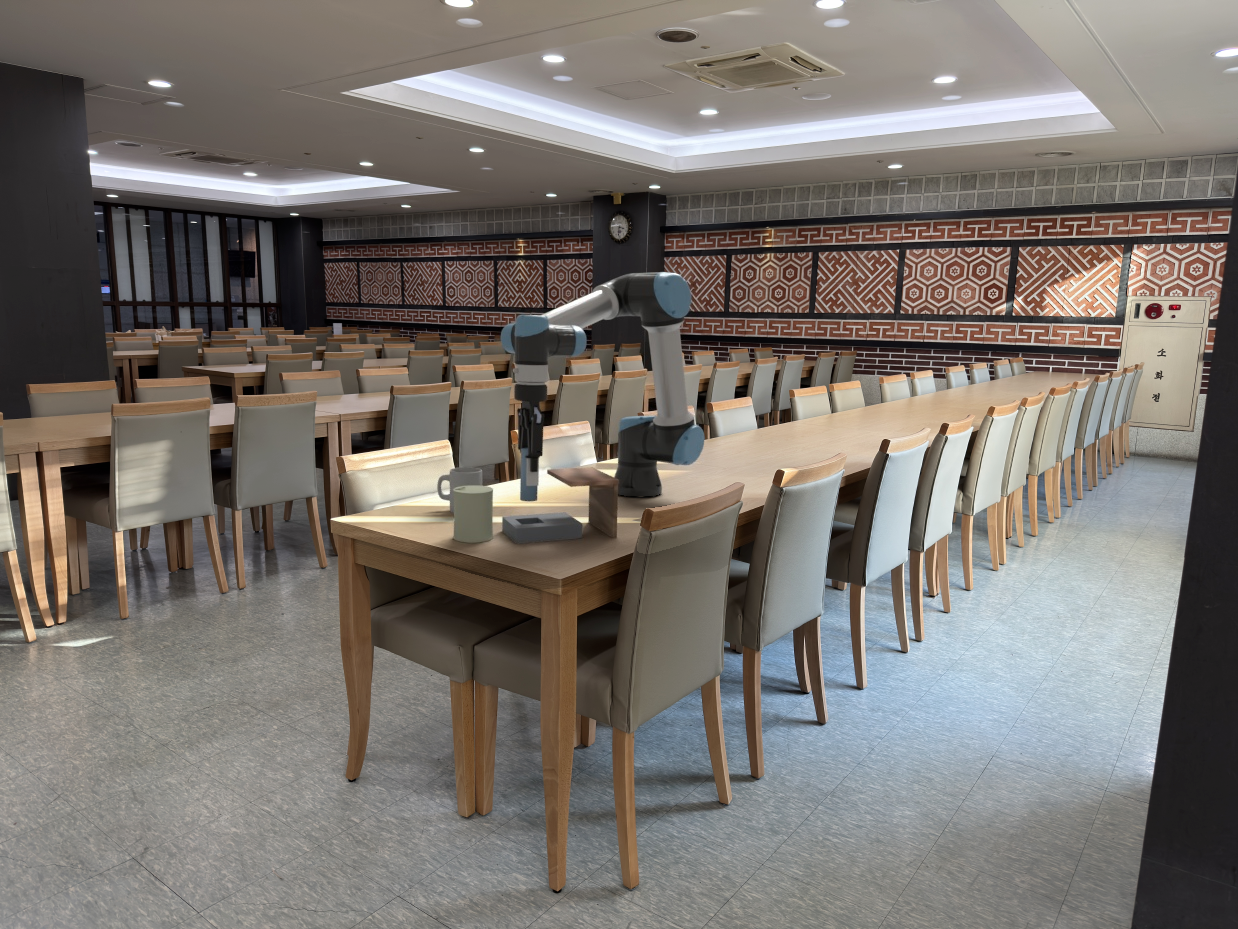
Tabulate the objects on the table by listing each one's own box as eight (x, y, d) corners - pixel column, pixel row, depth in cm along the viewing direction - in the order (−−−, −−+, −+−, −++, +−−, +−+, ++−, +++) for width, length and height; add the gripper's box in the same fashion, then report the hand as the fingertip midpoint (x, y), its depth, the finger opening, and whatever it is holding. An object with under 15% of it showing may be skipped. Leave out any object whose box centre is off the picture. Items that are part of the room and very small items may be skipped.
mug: (486, 508, 222) (486, 467, 221) (477, 515, 214) (477, 473, 212) (442, 505, 224) (442, 465, 222) (432, 512, 215) (432, 471, 213)
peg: (534, 497, 197) (535, 447, 195) (539, 501, 193) (540, 450, 191) (518, 498, 195) (518, 448, 193) (522, 501, 191) (523, 450, 189)
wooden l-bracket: (591, 521, 211) (592, 467, 208) (617, 538, 195) (619, 479, 193) (546, 524, 206) (547, 469, 204) (569, 542, 191) (570, 482, 188)
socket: (565, 526, 205) (565, 512, 205) (582, 538, 195) (582, 523, 194) (502, 530, 199) (502, 516, 199) (516, 543, 188) (516, 528, 188)
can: (455, 532, 197) (455, 483, 194) (494, 532, 197) (494, 483, 195) (451, 542, 187) (450, 491, 185) (492, 543, 188) (492, 491, 186)
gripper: (505, 380, 196) (504, 477, 200) (526, 386, 180) (524, 491, 184) (535, 380, 199) (533, 476, 203) (558, 386, 183) (556, 489, 187)
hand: (529, 483), depth 193 cm, fingers closed on peg, 4 cm apart
